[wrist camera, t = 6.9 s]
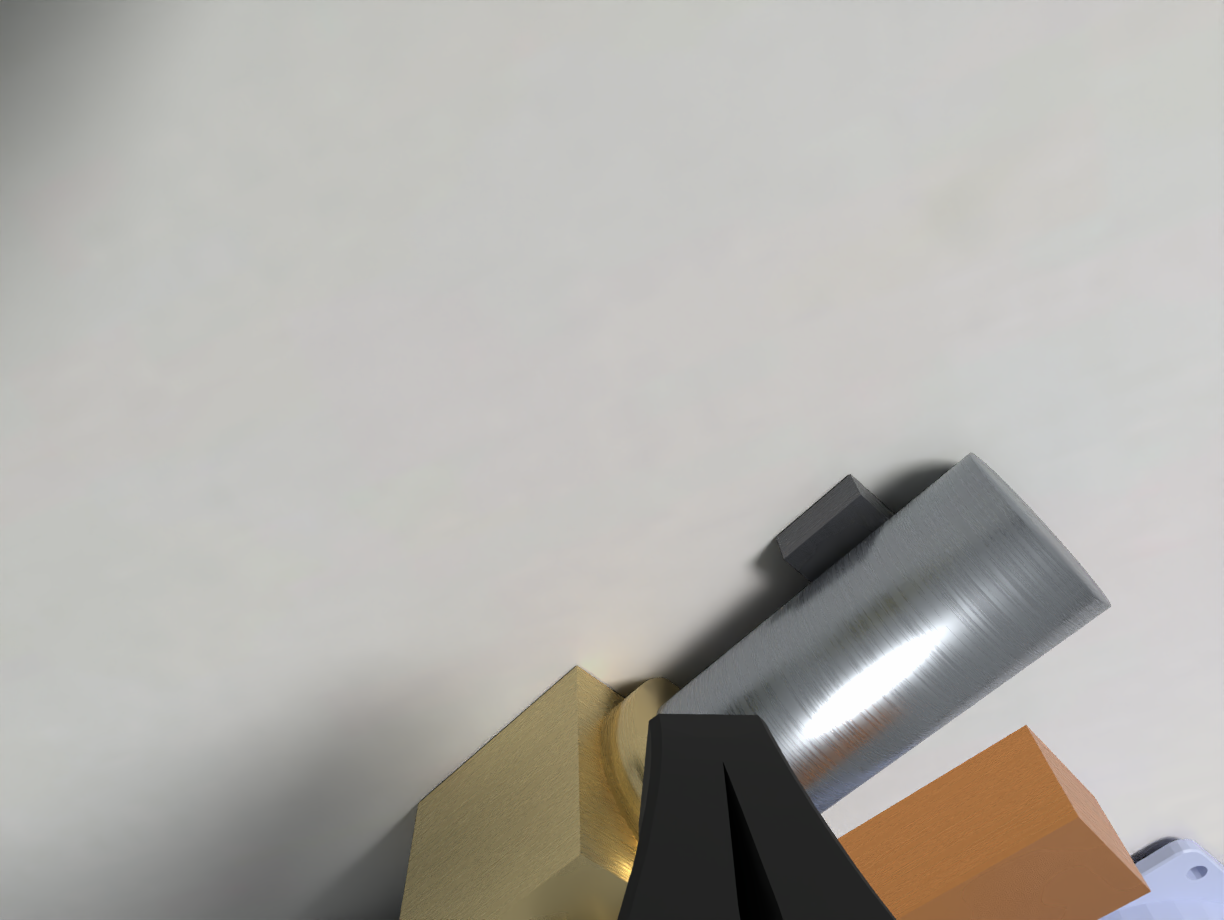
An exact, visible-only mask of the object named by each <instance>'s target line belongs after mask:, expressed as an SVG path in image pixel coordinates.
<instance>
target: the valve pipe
mask: <svg viewBox="0 0 1224 920" xmlns="http://www.w3.org/2000/svg"><path fill="white" fill-rule="evenodd" d="M776 538H777V541H778V544H779V547H780V550H781V553H782V556H783V559H784V560H785V561H786V562H788V563H789V564H790V565H791V566H792V567H794V568H795V569H796V570H797V571H798V572H800V573H801V574H802V575H803V576H805V577H806V578H807V579H808V580H809V581H811V582H812V583H810V584H809V585H808V586H807V587H806V588H804V589H803V590H802V591H801V592H799V593H798V594H797V595H796V596H795V597H793V598H792V599H791V600H790V601H788V602H787V603H786V604H785V605H784V606H782V607H781V608H780V609H779V610H777V611H776V612H775V613H774V614H773V615H771V616H770V617H769V618H768V619H766V620H765V621H764V622H763V623H761V624H760V625H759V626H758V627H757V628H755V629H754V630H753V631H752V632H750V633H749V634H748V635H747V636H746V637H744V638H743V639H742V640H741V641H739V642H738V643H737V644H736V645H735V646H733V647H732V648H731V649H730V650H728V651H727V652H726V653H725V654H724V655H722V656H721V657H720V658H719V659H717V660H716V661H715V662H714V663H713V664H711V665H710V666H709V667H708V668H706V669H705V670H704V671H703V672H702V673H700V674H699V675H698V676H697V677H695V678H694V679H693V680H692V681H691V682H689V683H688V684H687V685H686V686H684V687H683V688H682V689H680V688H678V687H677V686H676V685H674V684H673V683H672V682H670V681H669V680H667V679H666V678H652V679H650V680H647V681H646V682H644V683H643V684H642V685H641V686H640V687H638V688H637V689H636V690H635V691H634V692H632V693H631V694H630V695H629V696H628V697H626V698H623V697H622V696H620V695H619V694H617V693H616V692H614V691H613V690H612V689H610V688H609V687H607V686H606V685H604V684H603V683H601V682H600V681H599V680H597V679H596V678H594V677H593V676H591V675H590V674H588V673H587V672H585V671H584V670H583V669H581V668H580V667H578V666H576V667H575V668H574V669H572V670H571V671H570V672H569V673H568V674H567V675H566V676H564V677H563V678H562V679H561V680H560V681H559V682H557V683H556V684H555V685H554V686H553V687H552V688H551V689H549V690H548V691H547V692H546V693H545V694H544V695H543V696H541V697H540V698H539V699H538V700H537V701H536V702H535V703H533V704H532V705H531V706H530V707H529V708H528V709H526V710H525V711H524V712H523V713H522V714H521V715H520V716H518V717H517V718H516V719H515V720H514V721H513V722H512V723H510V724H509V725H508V726H507V727H506V728H505V729H503V730H502V731H501V732H500V733H499V734H498V735H497V736H495V737H494V738H493V739H492V740H491V741H490V742H489V743H487V744H486V745H485V746H484V747H483V748H482V749H481V750H479V751H478V752H477V753H476V754H475V755H474V756H472V757H471V758H470V759H469V760H468V761H467V762H466V763H464V764H463V765H462V766H461V767H460V768H459V769H458V770H456V771H455V772H454V773H453V774H452V775H451V776H449V777H448V778H447V779H446V780H445V781H444V782H443V783H441V784H440V785H439V786H438V787H437V788H436V789H435V790H433V791H432V792H431V793H430V794H429V795H428V796H427V797H425V798H424V799H423V800H422V801H421V802H420V803H418V809H417V815H416V821H415V828H414V834H413V840H412V846H411V852H410V858H409V864H408V871H407V877H406V883H405V889H404V895H403V901H402V906H401V912H400V919H399V920H617V919H618V915H619V912H620V908H621V905H622V901H623V898H624V894H625V891H626V887H627V884H628V880H629V877H630V873H631V870H632V866H633V862H634V858H635V854H636V850H637V845H638V840H639V816H640V805H641V795H642V785H643V775H644V765H645V754H646V744H647V734H648V724H649V720H650V719H652V718H653V717H655V716H656V715H658V714H724V715H759V716H760V717H761V718H762V719H763V720H764V721H765V722H766V724H767V726H768V728H769V730H770V732H771V733H772V735H773V737H774V739H775V741H776V742H777V744H778V746H779V748H780V749H781V751H782V753H783V755H784V756H785V758H786V760H787V761H788V763H789V765H790V766H791V768H792V770H793V771H794V773H795V775H796V776H797V778H798V780H799V781H800V783H801V784H802V786H803V788H804V789H805V791H806V792H807V794H808V796H809V797H810V799H811V800H812V802H813V803H814V805H815V807H816V808H817V810H818V811H819V813H820V814H821V813H823V812H824V811H825V810H827V809H828V808H830V807H831V806H832V805H834V804H835V803H837V802H838V801H839V800H841V799H842V798H844V797H845V796H846V795H848V794H849V793H851V792H852V791H853V790H855V789H856V788H858V787H859V786H860V785H862V784H863V783H865V782H866V781H867V780H869V779H870V778H872V777H873V776H874V775H876V774H877V773H879V772H880V771H881V770H883V769H884V768H886V767H887V766H888V765H890V764H891V763H893V762H894V761H895V760H897V759H898V758H900V757H901V756H902V755H904V754H905V753H907V752H908V751H909V750H911V749H912V748H914V747H915V746H916V745H918V744H919V743H921V742H922V741H923V740H925V739H926V738H928V737H929V736H930V735H932V734H933V733H935V732H936V731H937V730H939V729H940V728H942V727H943V726H944V725H946V724H947V723H949V722H950V721H951V720H953V719H954V718H956V717H957V716H958V715H960V714H961V713H963V712H964V711H965V710H967V709H968V708H970V707H971V706H972V705H974V704H975V703H977V702H978V701H979V700H981V699H982V698H984V697H985V696H986V695H988V694H989V693H991V692H992V691H993V690H995V689H996V688H998V687H999V686H1000V685H1002V684H1003V683H1005V682H1006V681H1007V680H1009V679H1010V678H1012V677H1013V676H1014V675H1016V674H1017V673H1019V672H1020V671H1021V670H1023V669H1024V668H1026V667H1027V666H1028V665H1030V664H1031V663H1033V662H1034V661H1035V660H1037V659H1038V658H1040V657H1041V656H1042V655H1044V654H1045V653H1047V652H1048V651H1049V650H1051V649H1052V648H1054V647H1055V646H1056V645H1058V644H1059V643H1061V642H1062V641H1063V640H1065V639H1066V638H1068V637H1069V636H1070V635H1072V634H1073V633H1075V632H1076V631H1077V630H1079V629H1080V628H1082V627H1083V626H1084V625H1086V624H1087V623H1089V622H1090V621H1091V620H1093V619H1094V618H1096V617H1097V616H1098V615H1100V614H1101V613H1103V612H1104V611H1105V610H1107V609H1108V608H1110V607H1111V604H1110V602H1109V601H1108V599H1107V598H1106V596H1105V595H1104V593H1103V592H1102V591H1101V589H1100V588H1099V587H1098V585H1097V584H1096V583H1095V581H1094V580H1093V579H1092V578H1091V577H1090V575H1089V574H1088V573H1087V572H1086V570H1085V569H1084V568H1083V567H1082V566H1081V564H1080V563H1079V562H1078V561H1077V560H1076V559H1075V557H1074V556H1073V555H1072V554H1071V553H1070V552H1069V550H1068V549H1067V548H1066V547H1065V546H1064V545H1063V544H1062V542H1061V541H1060V540H1059V539H1058V538H1057V537H1056V536H1055V535H1054V533H1053V532H1052V531H1051V530H1050V529H1049V528H1048V527H1047V526H1046V525H1045V524H1044V522H1043V521H1042V520H1041V519H1040V518H1039V517H1038V516H1037V515H1036V514H1035V513H1034V512H1033V511H1032V509H1031V508H1030V507H1029V506H1028V505H1027V504H1026V503H1025V502H1024V501H1023V500H1022V499H1021V498H1020V497H1019V496H1018V495H1017V494H1016V493H1015V492H1014V491H1013V490H1012V489H1011V488H1010V487H1009V486H1008V485H1007V484H1006V483H1005V482H1004V481H1003V480H1002V479H1001V478H1000V477H999V476H998V475H997V474H996V473H995V472H994V471H993V470H992V469H991V468H990V467H989V466H988V465H987V464H986V463H984V462H983V461H982V460H981V459H980V458H979V457H977V456H976V455H975V454H973V453H969V454H968V455H967V456H966V457H965V458H963V459H962V460H961V461H960V462H958V463H957V464H956V465H955V466H954V467H952V468H951V469H950V470H949V471H947V472H946V473H945V474H944V475H943V476H941V477H940V478H939V479H938V480H936V481H935V482H934V483H933V484H931V485H930V486H929V487H928V488H927V489H925V490H924V491H923V492H922V493H920V494H919V495H918V496H917V497H916V498H914V499H913V500H912V501H911V502H909V503H908V504H907V505H906V506H905V507H903V508H902V509H901V510H900V511H898V512H897V513H896V514H894V513H893V512H892V511H891V510H890V509H888V508H887V507H886V506H885V505H884V504H883V503H882V502H881V501H880V500H879V499H877V498H876V497H875V496H874V495H873V494H872V493H871V492H870V491H869V490H867V489H866V488H865V487H864V486H863V485H862V484H861V483H860V482H859V481H858V480H856V479H855V478H854V477H853V476H852V475H851V474H850V475H849V476H848V477H846V478H845V479H844V480H843V481H842V482H840V483H839V484H838V485H837V486H836V487H835V488H833V489H832V490H831V491H830V492H829V493H828V494H826V495H825V496H824V497H823V498H822V499H820V500H819V501H818V502H817V503H816V504H815V505H813V506H812V507H811V508H810V509H809V510H808V511H806V512H805V513H804V514H803V515H802V516H800V517H799V518H798V519H797V520H796V521H795V522H793V523H792V524H791V525H790V526H789V527H788V528H786V529H785V530H784V531H783V532H782V533H781V534H779V535H778V536H777V537H776Z"/></svg>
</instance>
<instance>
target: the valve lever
mask: <svg viewBox="0 0 1224 920" xmlns="http://www.w3.org/2000/svg"><path fill="white" fill-rule="evenodd" d="M838 841H839V842H840V844H841V845H842V846H843V848H844V849H845V851H846V852H847V854H848V855H849V857H850V858H851V859H852V861H853V862H854V864H855V865H856V867H857V868H858V869H859V871H860V872H861V873H862V875H863V876H864V878H865V879H866V880H867V882H868V883H869V884H870V886H871V887H872V888H873V890H874V891H875V893H876V894H877V895H878V896H879V898H880V899H881V900H882V902H883V903H884V904H885V905H886V907H887V908H888V909H889V911H890V912H891V913H892V914H893V916H894V917H895V918H896V920H1098V919H1100V918H1102V917H1104V916H1106V915H1108V914H1109V913H1111V912H1113V911H1115V910H1117V909H1119V908H1121V907H1123V906H1125V905H1127V904H1128V903H1130V902H1132V901H1134V900H1136V899H1138V898H1140V897H1142V896H1144V895H1146V894H1147V893H1149V892H1151V890H1150V888H1149V887H1148V885H1147V883H1146V882H1145V880H1144V878H1143V877H1142V875H1141V873H1140V872H1139V870H1138V868H1137V867H1136V865H1135V863H1134V862H1133V860H1132V858H1131V857H1130V855H1129V853H1128V852H1127V850H1126V849H1125V847H1124V845H1123V844H1122V842H1121V840H1120V839H1119V837H1118V835H1117V834H1116V832H1115V830H1114V829H1113V827H1112V825H1111V824H1110V822H1109V820H1108V819H1107V817H1106V815H1105V814H1104V812H1103V810H1102V809H1101V807H1100V805H1099V804H1098V802H1097V800H1096V799H1095V797H1094V796H1093V795H1092V794H1091V793H1090V792H1089V791H1088V790H1087V789H1086V787H1085V786H1084V785H1083V784H1082V783H1081V782H1080V781H1079V780H1078V779H1077V778H1076V777H1075V776H1074V775H1073V774H1072V773H1071V772H1070V771H1069V770H1068V769H1067V767H1066V766H1065V765H1064V764H1063V763H1062V762H1061V761H1060V760H1059V759H1058V758H1057V757H1056V756H1055V755H1054V754H1053V753H1052V752H1051V751H1050V750H1049V748H1048V747H1047V746H1046V745H1045V744H1044V743H1043V742H1042V741H1041V740H1040V739H1039V738H1038V737H1037V736H1036V735H1035V734H1034V733H1033V732H1032V731H1031V730H1030V728H1029V727H1028V726H1027V725H1025V726H1024V727H1022V728H1020V729H1019V730H1017V731H1015V732H1014V733H1012V734H1010V735H1009V736H1007V737H1005V738H1004V739H1002V740H1000V741H999V742H997V743H995V744H994V745H992V746H991V747H989V748H987V749H986V750H984V751H982V752H981V753H979V754H977V755H976V756H974V757H972V758H971V759H969V760H967V761H966V762H964V763H962V764H961V765H959V766H957V767H956V768H954V769H953V770H951V771H949V772H948V773H946V774H944V775H943V776H941V777H939V778H938V779H936V780H934V781H933V782H931V783H929V784H928V785H926V786H924V787H923V788H921V789H919V790H918V791H916V792H914V793H913V794H911V795H910V796H908V797H906V798H905V799H903V800H901V801H900V802H898V803H896V804H895V805H893V806H891V807H890V808H888V809H886V810H885V811H883V812H881V813H880V814H878V815H876V816H875V817H873V818H872V819H870V820H868V821H867V822H865V823H863V824H862V825H860V826H858V827H857V828H855V829H853V830H852V831H850V832H848V833H847V834H845V835H843V836H842V837H840V838H838Z"/></svg>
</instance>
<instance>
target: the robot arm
mask: <svg viewBox="0 0 1224 920" xmlns="http://www.w3.org/2000/svg"><path fill="white" fill-rule="evenodd" d="M1135 865H1136V867H1137V868H1138V870H1139V872H1140V873H1141V875H1142V877H1143V878H1144V880H1145V882H1146V883H1147V885H1148V887H1149V888H1150V890H1151V892H1149V893H1147V894H1146V895H1144V896H1142V897H1140V898H1138V899H1136V900H1134V901H1132V902H1130V903H1128V904H1127V905H1125V906H1123V907H1121V908H1119V909H1117V910H1115V911H1113V912H1111V913H1109V914H1108V915H1106V916H1104V917H1102V918H1100V919H1098V920H1224V866H1223V865H1222V864H1221V863H1220V862H1219V861H1217V860H1216V859H1215V858H1214V857H1213V856H1212V855H1210V854H1209V853H1208V852H1207V851H1206V850H1205V849H1204V848H1202V847H1201V846H1200V845H1199V844H1198V843H1197V842H1195V841H1193V840H1190V839H1179V840H1175V841H1172V842H1170V843H1168V844H1167V845H1165V846H1163V847H1162V848H1160V849H1158V850H1157V851H1155V852H1153V853H1152V854H1150V855H1148V856H1147V857H1145V858H1144V859H1142V860H1140V861H1139V862H1137V863H1135ZM617 920H896V918H895V917H894V916H893V914H892V913H891V912H890V911H889V909H888V908H887V907H886V905H885V904H884V903H883V902H882V900H881V899H880V898H879V896H878V895H877V894H876V893H875V891H874V890H873V888H872V887H871V886H870V884H869V883H868V882H867V880H866V879H865V878H864V876H863V875H862V873H861V872H860V871H859V869H858V868H857V867H856V865H855V864H854V862H853V861H852V859H851V858H850V857H849V855H848V854H847V852H846V851H845V849H844V848H843V846H842V845H841V844H840V842H839V841H838V839H837V838H836V836H835V835H834V833H833V832H832V831H831V829H830V828H829V826H828V825H827V823H826V822H825V820H824V819H823V817H822V816H821V814H820V813H819V811H818V810H817V808H816V807H815V805H814V803H813V802H812V800H811V799H810V797H809V796H808V794H807V792H806V791H805V789H804V788H803V786H802V784H801V783H800V781H799V780H798V778H797V776H796V775H795V773H794V771H793V770H792V768H791V766H790V765H789V763H788V761H787V760H786V758H785V756H784V755H783V753H782V751H781V749H780V748H779V746H778V744H777V742H776V741H775V739H774V737H773V735H772V733H771V732H770V730H769V728H768V726H767V724H766V722H765V721H764V720H763V719H762V718H761V717H760V716H759V715H724V714H658V715H656V716H655V717H653V718H652V719H650V720H649V724H648V734H647V744H646V754H645V765H644V775H643V785H642V795H641V805H640V816H639V840H638V845H637V850H636V854H635V858H634V862H633V866H632V870H631V873H630V877H629V880H628V884H627V887H626V891H625V894H624V898H623V901H622V905H621V908H620V912H619V915H618V919H617Z"/></svg>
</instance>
